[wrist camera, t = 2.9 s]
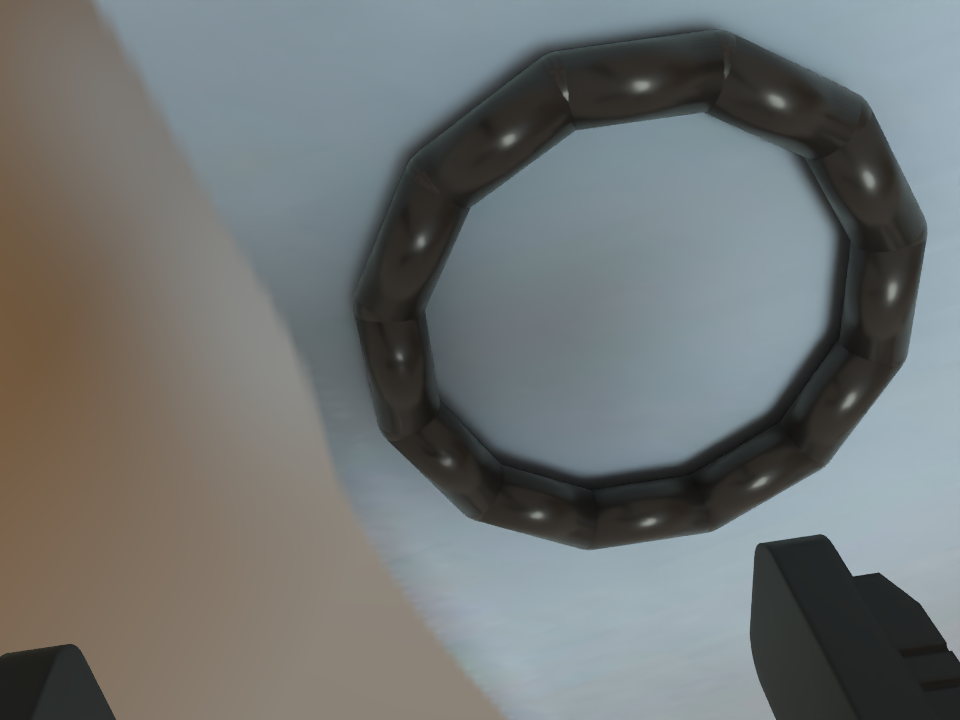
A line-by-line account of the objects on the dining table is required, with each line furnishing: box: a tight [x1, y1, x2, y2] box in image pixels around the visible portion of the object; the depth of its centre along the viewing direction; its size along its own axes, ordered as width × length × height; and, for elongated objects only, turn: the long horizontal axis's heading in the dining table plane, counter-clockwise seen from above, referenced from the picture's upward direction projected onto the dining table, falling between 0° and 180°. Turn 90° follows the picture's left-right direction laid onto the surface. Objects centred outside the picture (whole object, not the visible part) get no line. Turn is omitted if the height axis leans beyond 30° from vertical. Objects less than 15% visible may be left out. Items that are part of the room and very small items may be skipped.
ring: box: [353, 30, 927, 550], centre depth 16 cm, size 10×10×1 cm
